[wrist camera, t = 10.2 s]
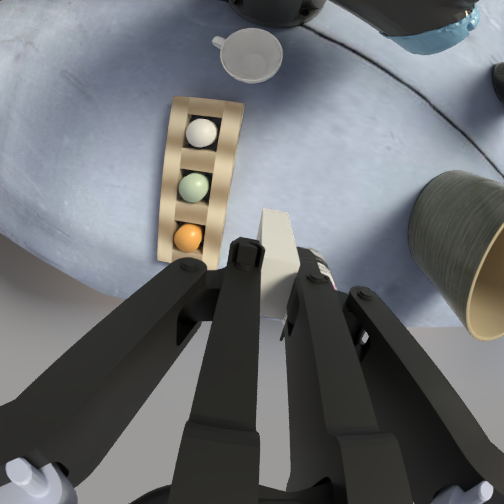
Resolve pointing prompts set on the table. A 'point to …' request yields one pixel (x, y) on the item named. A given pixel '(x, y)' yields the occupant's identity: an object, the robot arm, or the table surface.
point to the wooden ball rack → (198, 160)
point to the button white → (202, 132)
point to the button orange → (189, 236)
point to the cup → (250, 54)
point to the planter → (463, 247)
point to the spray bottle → (499, 80)
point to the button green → (194, 186)
